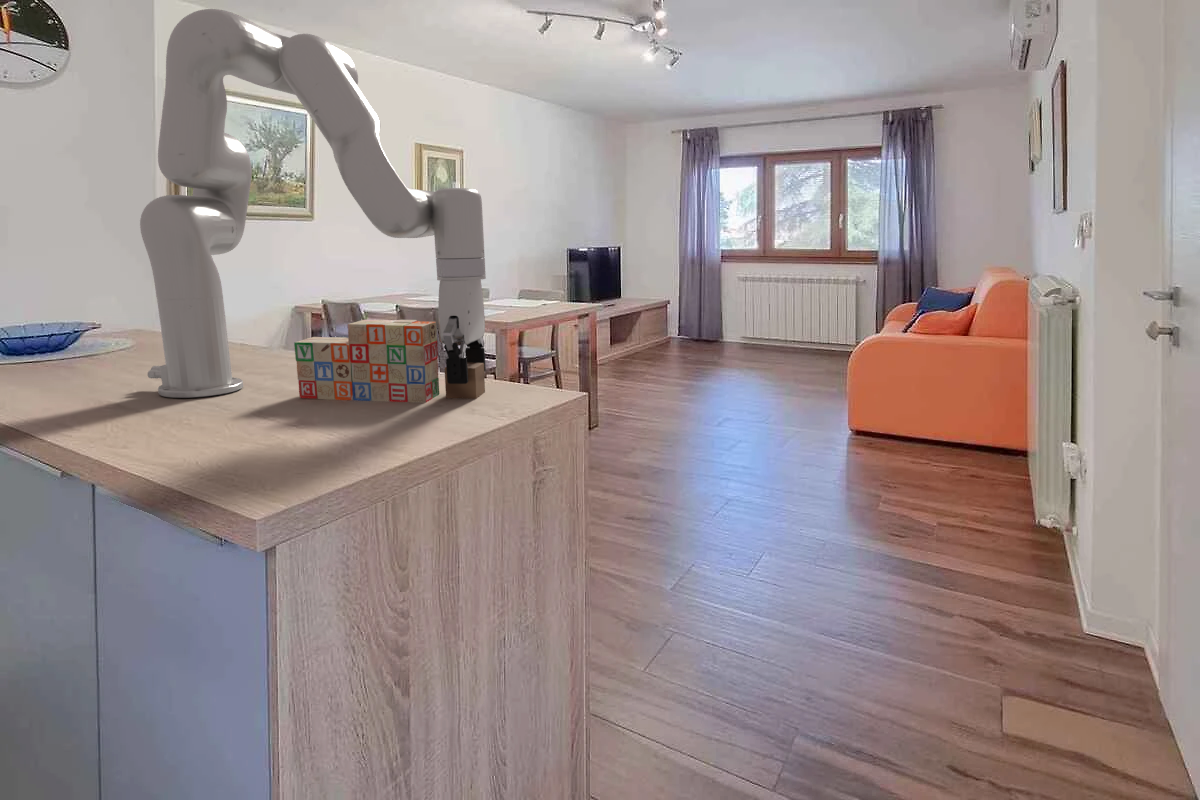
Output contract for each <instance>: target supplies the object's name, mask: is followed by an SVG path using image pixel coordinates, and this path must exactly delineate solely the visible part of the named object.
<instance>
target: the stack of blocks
mask: <svg viewBox="0 0 1200 800" xmlns="http://www.w3.org/2000/svg"><path fill="white" fill-rule="evenodd" d="M437 329H438V328H437V321H423V320H421V321H419V320H417V319H398V320H397V319H392V320H391V319H361V320H358V321H354V322H350V323H348V324H347V337H342V336H341V337H340V336H338V337H337V336H336V337H332V336H331V337H329V336H312V337H308V338H305V339H302V340H299V341H298V340H297V341H295V342H293V344H294V345H293V346H294V356H295V361H296V374H297V380H298V381H297V382H298V392H299V393H298V395H299V399H314V400H315V399H316V400H329V401H331V400H335V401H336V400H337V401H362V402H363V401H364V402H365V401H366V402H368V401H369V402H370V401H371V402H392V403H393V402H394V403H395V402H397V403H423V404H424V403H427V402H430V401H431V400H433V399H434V398H435V397H437V396H439V395H440V383H439V381H440V380H439V359H438V358H439V350H438V348H439V347H438V345H439V344H438V332H437Z"/></svg>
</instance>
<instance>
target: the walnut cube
mask: <svg viewBox="0 0 1200 800" xmlns="http://www.w3.org/2000/svg"><path fill="white" fill-rule="evenodd" d="M467 369H468V382H467V383H466V384H449V383H448V382H447V369H446V367H444V383H445V384H444V385H445V386H444V387H445V398H446V399H466V400H467V399H468V400H469V399H470V400H477V399H479V398H480V397H481V396H482V395H484V394H485V393H486V386H485V383H486V382H485V371H484V363H467Z"/></svg>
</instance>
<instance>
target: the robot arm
mask: <svg viewBox="0 0 1200 800" xmlns="http://www.w3.org/2000/svg"><path fill="white" fill-rule="evenodd" d="M166 48H167V49H166V54H165V55H166V56H165V57H166V58H165V88H164V96H163V97H164V98H163V103H162V111H161V120H160V121H161V122H160V129H159V131H160V132H159V138H158V139H159V140H158V147H157V162H158V163H157V164H158V167H159V170H160V173H161V174H163V176H164V178H166V179H167V180H168V181H169V182H171V183H173V184H174V185H177V186H180V187H183V188H184V187H185V188H191V189H192V195H183V194H169V195H162V196H159V197H156V198H154V199H153V200H151V201H150V202H149V203H148V204H146V206H145V207H144V208H143V210H142V212H141V215H140V220H139V226H140V227H139V228H140V234H141V238H142V242H143V244H144V247H145V249H146V253H147V255H148V260H149V262H150V267H151V270H152V271H151V272H152V275H153V283H154V288H155V289H154V290H155V296H156V303H157V309H158V318H159V325H160V330H161V332H160V333H161V339H162V347H163V353H164V363H165V364H162V365H153V366H152V367H150V369H149V370H148V372H147V377H148V378H149V379H161V385H159V386H158V388H157V390H158V391H157V392H158V395H160V396H161V397H165V398H174V399H177V398H179V399H180V398H181V399H185V398H186V399H187V398H188V399H189V398H203V397H211V396H212V397H213V396H219V395H226V394H229V393H232V392H237V391H238V390H240V389H241V390H242V388H243V387H244V381H243V379H241V378H238V377H234V376H233V372H232V363H231V356H230V355H231V354H230V346H229V337H228V328H227V321H226V310H225V303H224V295H223V287H222V281H221V277H220V274H219V271H218V268H217V266H216V263H215V261H214V258H213V256H214V255H223V254H227V253H229V252H231V251H233V250H234V249H235V248H236V247H237V246H238V245H239V243H240V242H241V240H242V237H243V235H244V232H245V227H246V220H247V214H248V207H249V206H248V205H249V200H250V193H251V192H250V191H251V184H252V174H253V170H252V162H251V158H250V155H249V153H248V151H247V149H246V147H245V146H244V145H243V143H242V142H241V141H240V140H239V139H238V138H236V137H234V136H233V135H231V134H229V133H227V132H225V124H226V117H227V113H228V98H227V92H226V88H225V84H224V77H225V76H228V75H229V76H233V77H236V78H238V79H240V80H243V81H246V82H249V83H251V84H254V85H257V86H260V87H263V88H267V89H270V90H275V91H278V92H283V93H287V94H290V95H294V96H296V97H297V99H298V100H299V102H300V103H301V105H302V106H303V108H304V109H305V111H306V112H307V113H308V115H309V116H310V118H311V119H312V121H313V122H314V124H315V125H316V127H317V128H318V129H319V131H320V132H321V134H322V136H323V137H324V139H325V140H326V141H327V143H328V145H329V146H330V148H331V150H332V153H333V157H334V160H335V163H336V167H337V169H338V171H339V173H340V175H341V178H342V180H343V182H344V184H345V186H346V188H347V189H348V191H349V193H350V195H351V196H352V197H353V199H354V200H355V202H356V203H357V205H358V206H359V208H360V210H362V212H363V213H364V215H365V216H366V218H367V219H368V220H369V221H370V223H371V224H372V225H373V226H374V228H376V229H377V230H378V231H379V232H380V233H382V234H383V235H385V236H386V237H390V238H394V239H418V238H419V239H420V238H426V237H431V236H434V237H433V238H434V251H435V263H436V264H435V265H436V276H437V277H436V278H437V281H439V285H438V303H437V304H438V305H437V306H438V311H437V313H438V338H439V339H438V341H439V342H440V343H441V345H443V349H444V358H445V363H446V364H445V365H446V369H447V382H448V383H449V384H466V383H467V382H468V369H467V363H484V372H486V353H485V346H486V345H485V339H484V336H485V331H486V324H485V322H486V321H485V320H486V319H485V304H484V296H483V287H482V280H485V279H487V278H486V277H487V276H486V274H487V273H486V259H485V239H484V219H483V218H484V216H483V203H482V195H481V194H480V192H479V191H478V190H476V189H475V188H474V189H473V188H469V187H466V188H464V187H447V188H440V189H437V190H435V191H433V190H432V191H430V190H422V189H416V188H413V187H407V186H406V185H405V183H404V181H403V180H402V179H401V177H400V176H399V174H398V173H397V170H395V168H394V167H393V166H392V164H391V162H390V160H389V159H388V157H387V156H386V153H385V151H384V150H383V147H382V145H381V140H380V132H381V130H380V129H381V120H380V118H379V116H378V114H377V113H376V111H375V110H374V109H373V107H372V106H371V105H370V103H369V101H368V100H367V98H366V96H365V95H364V94H363V92H362V91H361V89H360V88H359V85H358V83H359V75H358V70H357V68H356V65H355V63H354V61H353V60H352V57H350V56H349V54H348V53H347V52H345V51H344V50H343V49H341V48H339V47H338V46H336V45H334V44H333V43H331V42H328V41H327V40H326V39H324V38H322V37H320V36H317V35H315V34H311V33H298V34H295V35H292V36H289V37H288V36H285V35H283V34H278V33H275V32H272V31H270V30H268V29H267V28H264V27H262V26H260V25H258V24H257V23H254V22H253V21H251V20H249V19H247V18H245V17H243V16H241V15H239V14H237V13H233V12H232V11H231V12H230V11H228V10H222V9H219V8H205V9H199V10H196V11H193V12H192V13H189V14H187V15H186V16H184V17H183V18H182V19H180V20H179V22H178V23H177V24H176V25H175V26H174V28H173V29H172V31H171V34H170V36H169V38H168V41H167V47H166ZM459 346H460V347H459Z"/></svg>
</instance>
